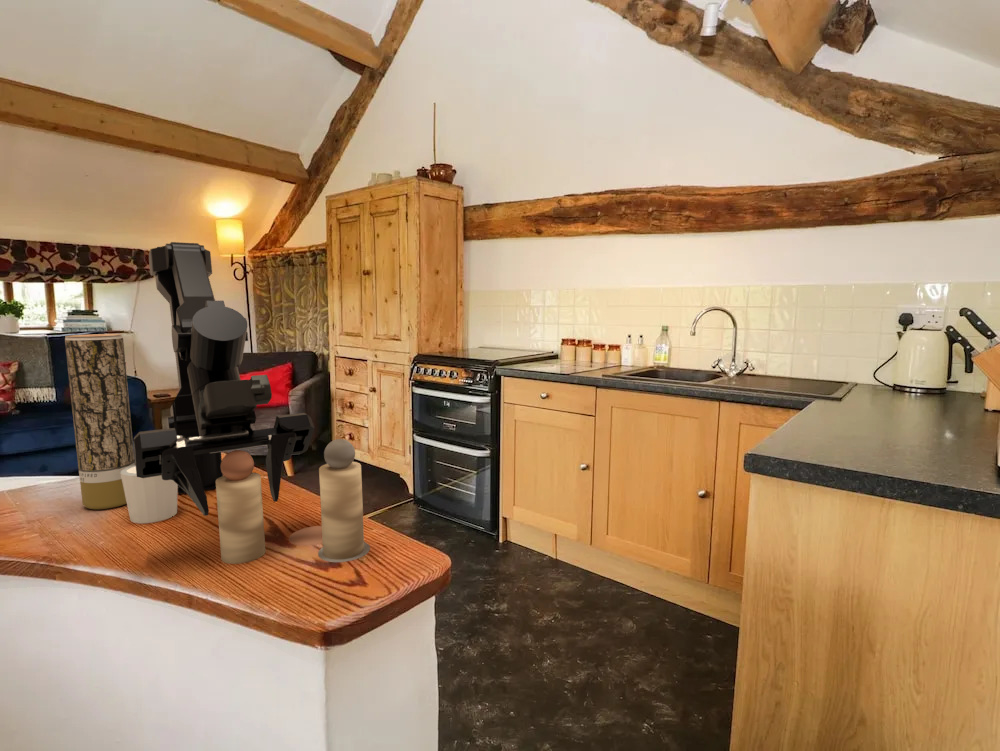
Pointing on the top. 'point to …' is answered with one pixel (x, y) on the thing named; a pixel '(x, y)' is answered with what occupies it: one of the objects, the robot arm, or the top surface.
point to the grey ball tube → (341, 502)
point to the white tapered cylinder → (149, 497)
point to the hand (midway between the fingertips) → (242, 506)
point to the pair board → (318, 542)
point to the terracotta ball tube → (240, 509)
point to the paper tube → (100, 416)
